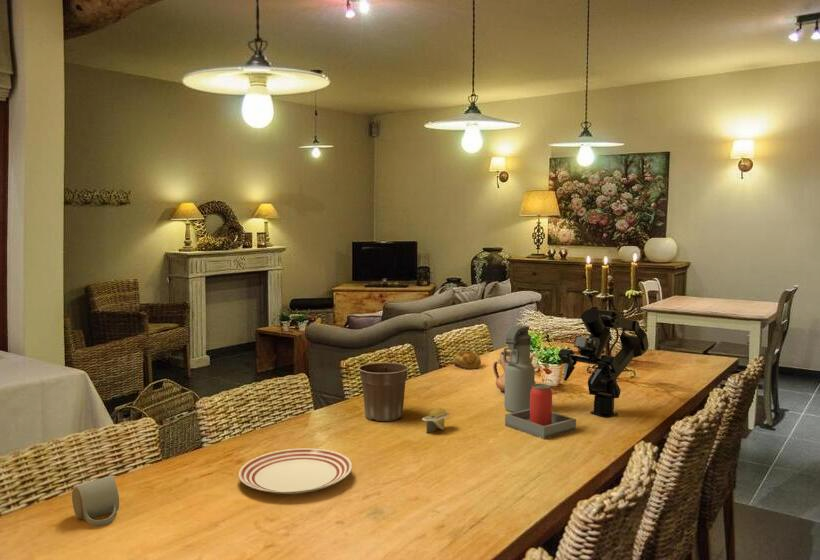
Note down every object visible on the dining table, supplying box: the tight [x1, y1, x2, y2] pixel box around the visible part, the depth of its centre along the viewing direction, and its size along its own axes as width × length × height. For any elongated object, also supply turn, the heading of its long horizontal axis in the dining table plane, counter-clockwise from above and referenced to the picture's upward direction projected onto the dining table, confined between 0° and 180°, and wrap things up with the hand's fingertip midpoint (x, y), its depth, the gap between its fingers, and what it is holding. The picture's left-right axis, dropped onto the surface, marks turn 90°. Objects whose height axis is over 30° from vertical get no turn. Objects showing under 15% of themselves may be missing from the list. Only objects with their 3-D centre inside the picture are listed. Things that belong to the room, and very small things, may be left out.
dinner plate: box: [238, 447, 353, 495], centre depth 169 cm, size 28×27×3 cm
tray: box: [504, 409, 577, 440], centre depth 210 cm, size 14×16×4 cm
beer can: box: [530, 383, 553, 426], centre depth 209 cm, size 7×7×12 cm
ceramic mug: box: [71, 475, 120, 527], centre depth 147 cm, size 11×8×8 cm
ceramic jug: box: [492, 350, 538, 393], centre depth 253 cm, size 18×14×14 cm
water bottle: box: [503, 324, 536, 413], centre depth 228 cm, size 10×10×28 cm
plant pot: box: [357, 362, 410, 422], centre depth 221 cm, size 16×16×16 cm
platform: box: [421, 407, 450, 434], centre depth 207 cm, size 12×18×7 cm, turn 140°
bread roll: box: [452, 350, 482, 370], centre depth 294 cm, size 13×10×8 cm
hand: (577, 382), depth 211 cm, fingers open, 9 cm apart
